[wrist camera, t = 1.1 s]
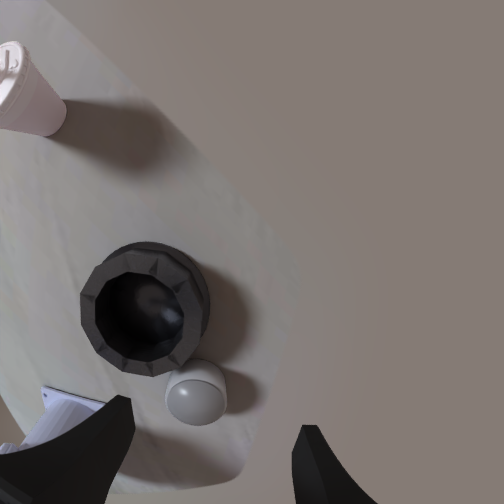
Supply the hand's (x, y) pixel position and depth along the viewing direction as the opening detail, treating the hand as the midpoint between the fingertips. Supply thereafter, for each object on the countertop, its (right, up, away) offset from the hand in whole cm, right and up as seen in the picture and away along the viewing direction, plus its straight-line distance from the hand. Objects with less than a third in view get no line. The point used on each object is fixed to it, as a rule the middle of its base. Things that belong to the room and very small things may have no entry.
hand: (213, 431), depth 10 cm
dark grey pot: (-7, +3, +12) cm, 14 cm away
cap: (-3, -4, +14) cm, 15 cm away
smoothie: (-17, +19, +9) cm, 27 cm away
